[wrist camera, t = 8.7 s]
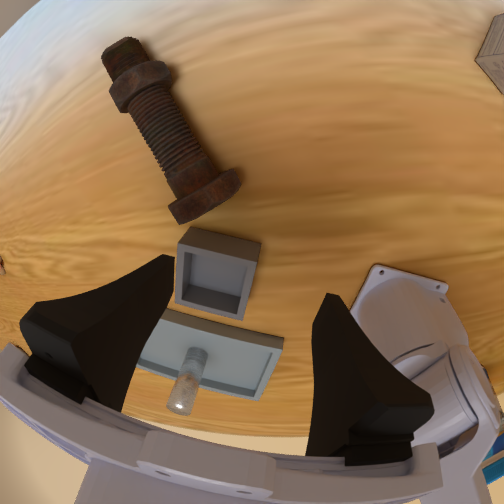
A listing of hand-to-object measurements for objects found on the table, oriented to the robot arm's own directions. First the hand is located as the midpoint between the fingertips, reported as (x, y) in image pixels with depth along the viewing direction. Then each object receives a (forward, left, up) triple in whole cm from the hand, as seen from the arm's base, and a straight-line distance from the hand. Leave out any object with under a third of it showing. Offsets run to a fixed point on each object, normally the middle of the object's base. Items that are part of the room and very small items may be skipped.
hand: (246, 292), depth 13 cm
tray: (+4, +19, -10) cm, 22 cm away
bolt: (+9, -6, -11) cm, 15 cm away
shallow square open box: (+3, +6, -10) cm, 12 cm away
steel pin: (+4, +19, -10) cm, 22 cm away
